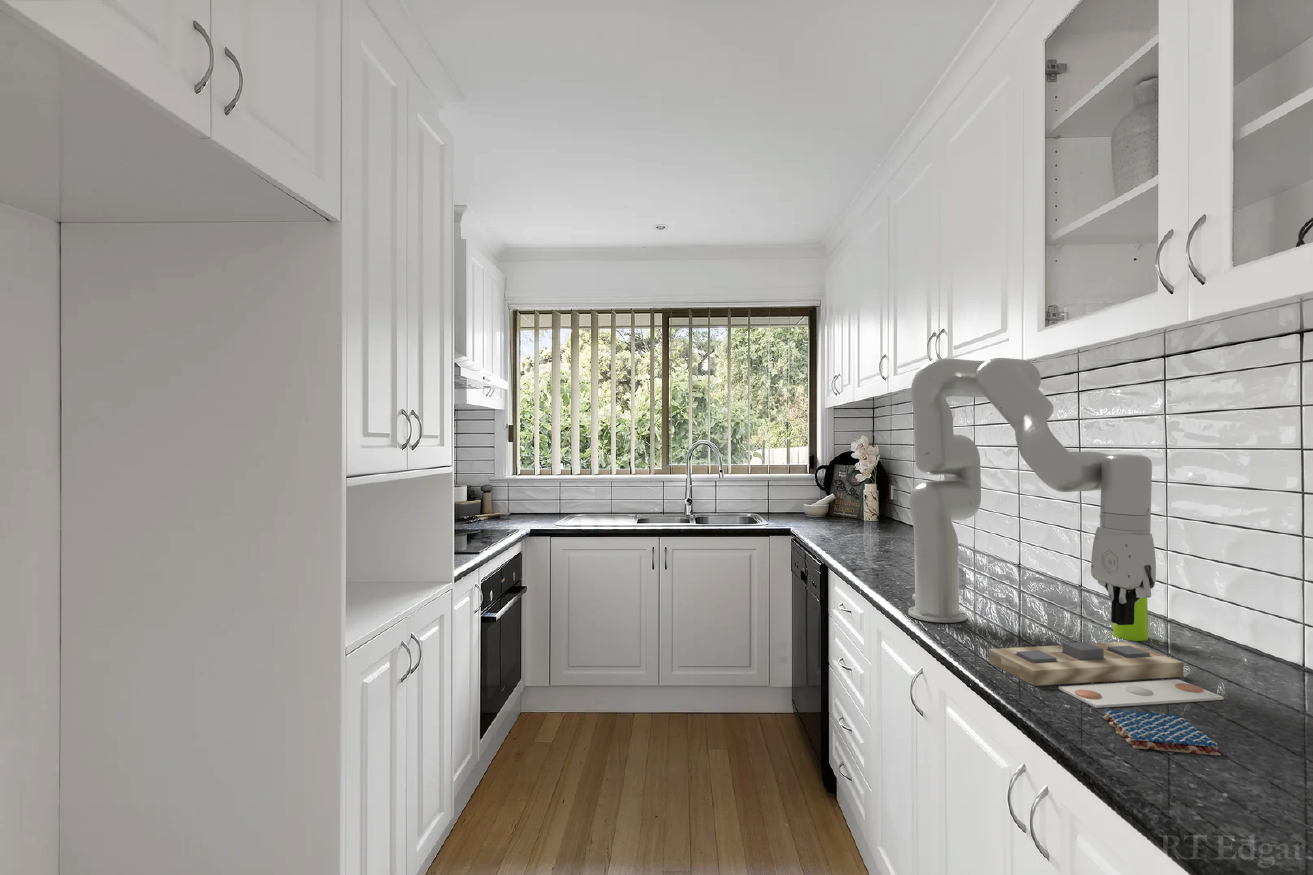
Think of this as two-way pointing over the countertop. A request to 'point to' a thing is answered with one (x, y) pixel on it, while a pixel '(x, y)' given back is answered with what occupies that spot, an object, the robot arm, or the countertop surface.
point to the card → (1139, 693)
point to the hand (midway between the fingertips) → (1122, 623)
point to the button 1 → (1036, 656)
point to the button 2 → (1083, 651)
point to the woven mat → (1160, 732)
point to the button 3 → (1128, 651)
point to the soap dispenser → (1135, 624)
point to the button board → (1085, 666)
